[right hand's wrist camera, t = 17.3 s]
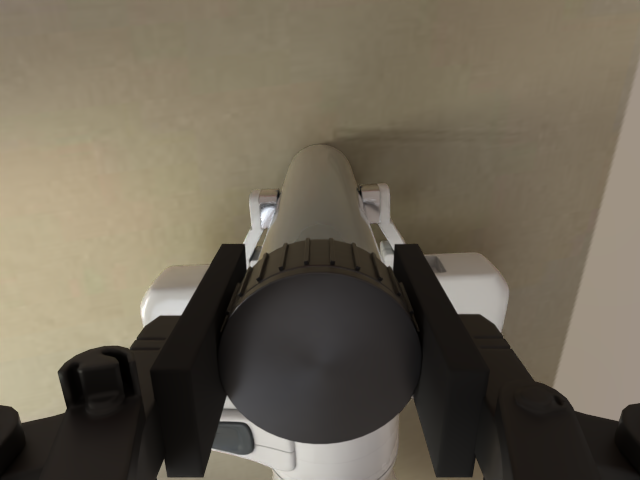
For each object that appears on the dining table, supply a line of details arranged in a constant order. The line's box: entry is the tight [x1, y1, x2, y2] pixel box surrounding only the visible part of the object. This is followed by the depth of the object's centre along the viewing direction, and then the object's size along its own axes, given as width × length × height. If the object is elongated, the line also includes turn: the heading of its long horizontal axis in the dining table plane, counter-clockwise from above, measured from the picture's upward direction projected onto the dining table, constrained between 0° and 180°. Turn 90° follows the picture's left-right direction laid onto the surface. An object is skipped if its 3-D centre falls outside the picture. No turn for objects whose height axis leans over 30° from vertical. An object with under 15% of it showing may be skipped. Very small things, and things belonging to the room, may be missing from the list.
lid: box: [217, 238, 423, 444], centre depth 11 cm, size 5×5×2 cm
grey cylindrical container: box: [257, 144, 383, 262], centre depth 20 cm, size 4×4×20 cm
